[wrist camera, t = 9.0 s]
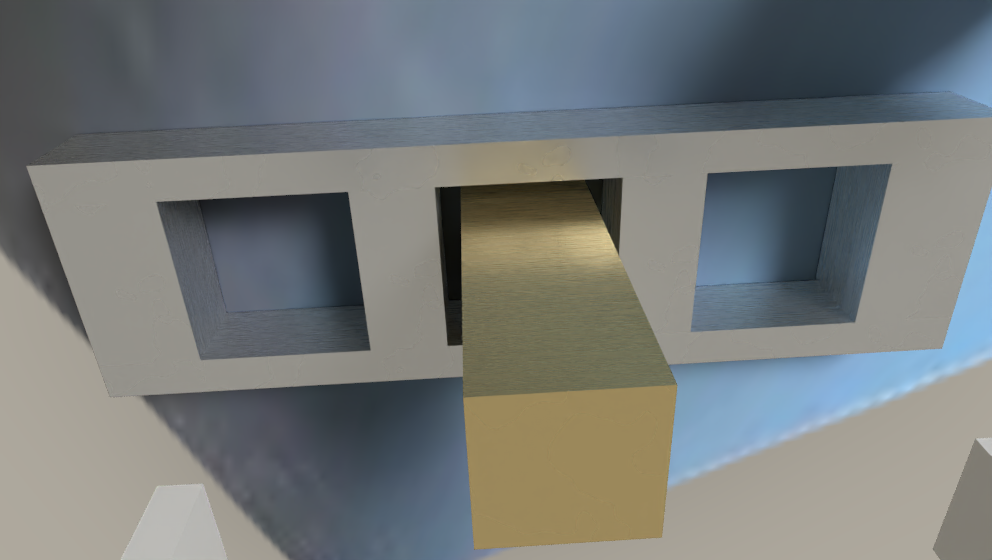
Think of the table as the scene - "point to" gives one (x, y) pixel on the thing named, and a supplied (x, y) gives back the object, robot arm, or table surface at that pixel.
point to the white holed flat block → (502, 160)
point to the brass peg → (557, 374)
